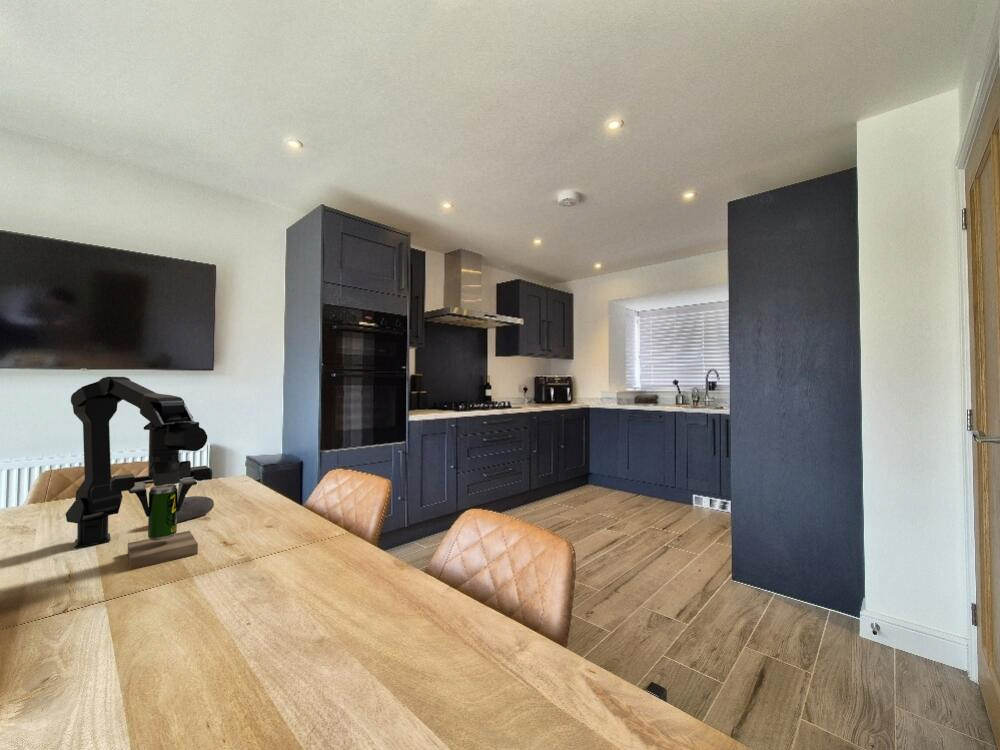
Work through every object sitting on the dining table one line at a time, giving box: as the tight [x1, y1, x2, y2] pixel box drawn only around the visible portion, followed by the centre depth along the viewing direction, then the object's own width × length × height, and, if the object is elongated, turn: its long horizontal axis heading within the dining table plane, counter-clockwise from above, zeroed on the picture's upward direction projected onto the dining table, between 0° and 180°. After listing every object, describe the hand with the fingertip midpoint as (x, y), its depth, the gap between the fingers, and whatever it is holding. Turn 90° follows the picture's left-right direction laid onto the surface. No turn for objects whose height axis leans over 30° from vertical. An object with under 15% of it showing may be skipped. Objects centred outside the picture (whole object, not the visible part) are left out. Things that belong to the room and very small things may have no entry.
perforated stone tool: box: [177, 495, 215, 523], centre depth 125 cm, size 15×5×7 cm, turn 147°
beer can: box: [147, 484, 178, 541], centre depth 100 cm, size 5×5×12 cm
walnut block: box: [127, 530, 199, 570], centre depth 100 cm, size 12×12×2 cm
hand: (162, 513), depth 100 cm, fingers closed on beer can, 5 cm apart
